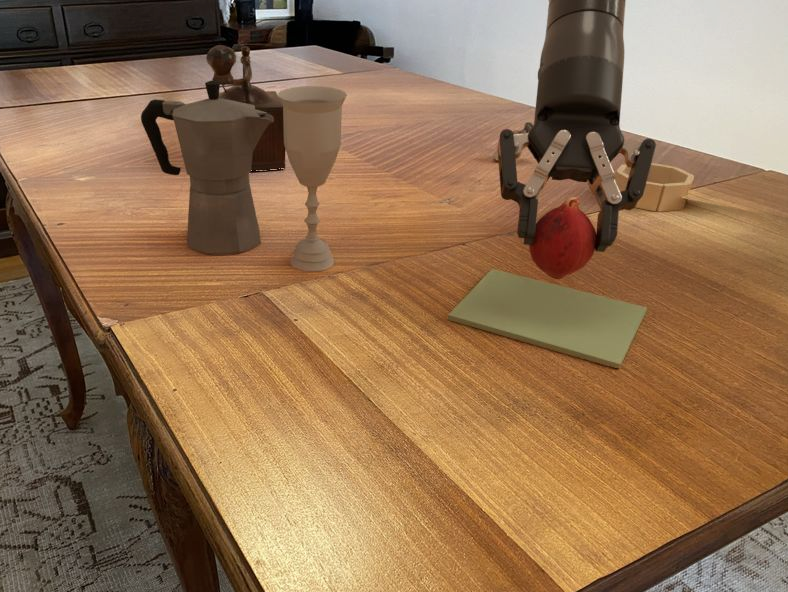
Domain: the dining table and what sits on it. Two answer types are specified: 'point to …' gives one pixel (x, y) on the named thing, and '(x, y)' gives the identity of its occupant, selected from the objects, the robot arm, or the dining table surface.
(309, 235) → the chalice
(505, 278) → the mat
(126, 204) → the dining table surface
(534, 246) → the onion
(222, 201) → the coffeepot
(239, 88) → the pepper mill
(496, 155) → the vase
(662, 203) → the octagonal bowl
